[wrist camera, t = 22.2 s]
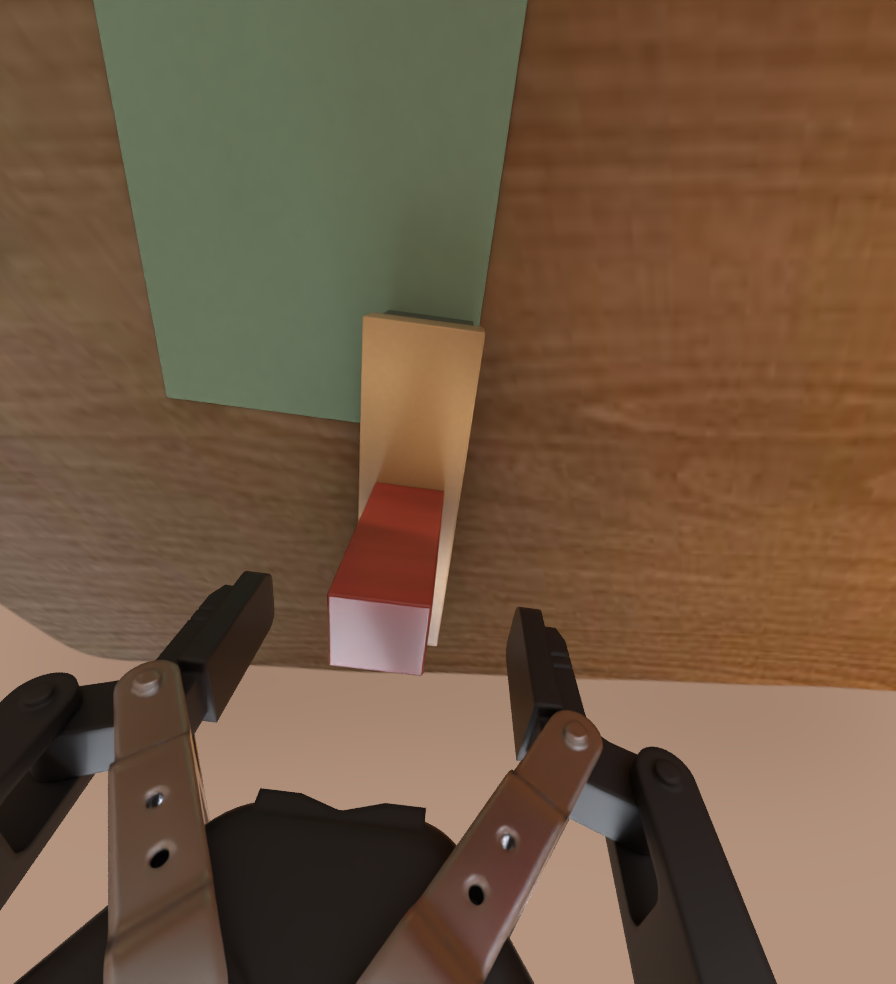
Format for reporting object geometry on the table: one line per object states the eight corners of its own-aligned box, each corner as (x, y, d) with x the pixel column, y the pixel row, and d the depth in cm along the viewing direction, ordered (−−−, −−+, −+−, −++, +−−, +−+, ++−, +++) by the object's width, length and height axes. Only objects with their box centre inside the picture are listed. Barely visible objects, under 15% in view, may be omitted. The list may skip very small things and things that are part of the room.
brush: (440, 606, 25) (425, 790, 16) (367, 598, 25) (312, 777, 16) (483, 322, 18) (498, 378, 9) (378, 308, 17) (286, 350, 9)
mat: (463, 435, 20) (462, 436, 20) (169, 396, 20) (166, 397, 20) (551, -164, 12) (552, -170, 12) (52, -245, 12) (45, -253, 11)
